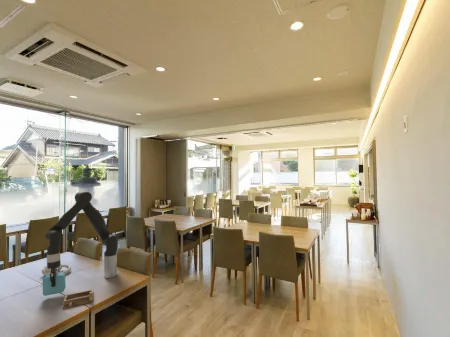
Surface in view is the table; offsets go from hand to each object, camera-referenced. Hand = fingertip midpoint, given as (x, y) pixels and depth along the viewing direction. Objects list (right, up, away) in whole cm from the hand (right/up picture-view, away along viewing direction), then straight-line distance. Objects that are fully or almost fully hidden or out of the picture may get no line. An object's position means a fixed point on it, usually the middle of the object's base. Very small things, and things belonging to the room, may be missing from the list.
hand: (54, 284), depth 161 cm
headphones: (-25, -10, +37) cm, 45 cm away
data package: (0, -6, 0) cm, 6 cm away
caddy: (+20, -8, -5) cm, 22 cm away
